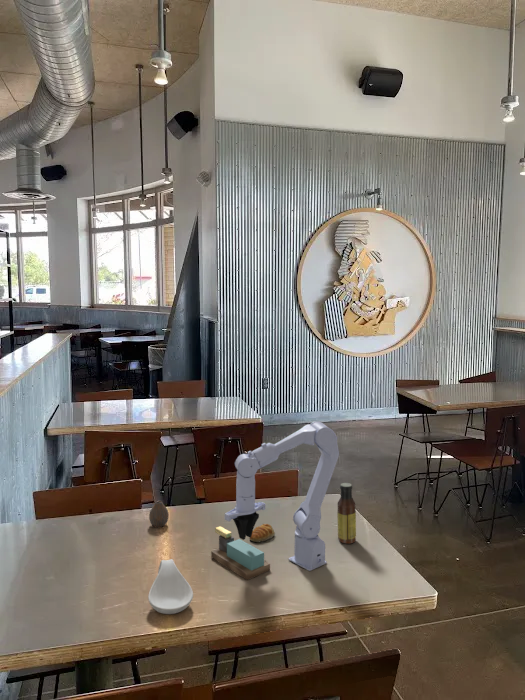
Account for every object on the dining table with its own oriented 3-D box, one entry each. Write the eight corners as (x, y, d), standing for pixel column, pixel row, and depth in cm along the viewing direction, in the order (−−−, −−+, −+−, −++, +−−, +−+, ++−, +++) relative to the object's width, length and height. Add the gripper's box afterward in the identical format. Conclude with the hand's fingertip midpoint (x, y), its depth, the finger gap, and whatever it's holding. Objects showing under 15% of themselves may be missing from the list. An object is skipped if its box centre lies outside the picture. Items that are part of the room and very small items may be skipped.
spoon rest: (196, 617, 135) (196, 591, 134) (149, 624, 132) (149, 597, 131) (184, 572, 158) (184, 549, 157) (144, 577, 155) (144, 554, 154)
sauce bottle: (355, 537, 182) (356, 481, 181) (356, 545, 176) (358, 488, 174) (336, 536, 183) (337, 480, 181) (337, 544, 177) (338, 487, 175)
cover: (264, 565, 158) (264, 552, 158) (251, 570, 155) (251, 557, 154) (239, 550, 167) (239, 538, 167) (226, 555, 164) (226, 543, 163)
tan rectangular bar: (231, 536, 167) (231, 532, 167) (226, 538, 166) (226, 534, 166) (220, 530, 172) (220, 526, 172) (215, 532, 170) (215, 527, 170)
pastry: (260, 545, 176) (260, 534, 175) (244, 540, 180) (244, 529, 179) (276, 536, 183) (276, 525, 183) (260, 531, 187) (260, 520, 187)
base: (270, 570, 159) (270, 550, 158) (247, 580, 153) (247, 559, 153) (233, 548, 173) (233, 530, 172) (211, 557, 167) (211, 538, 166)
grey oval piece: (145, 527, 188) (145, 504, 187) (155, 520, 195) (154, 497, 194) (163, 530, 186) (162, 506, 185) (171, 522, 193) (171, 499, 192)
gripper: (255, 485, 167) (254, 526, 168) (218, 496, 157) (218, 539, 158) (270, 491, 161) (269, 533, 163) (233, 502, 152) (232, 547, 153)
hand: (245, 537), depth 160 cm, fingers closed
